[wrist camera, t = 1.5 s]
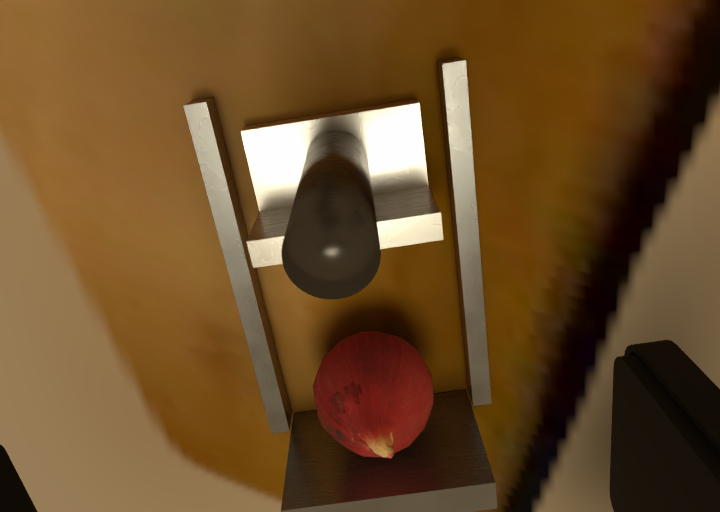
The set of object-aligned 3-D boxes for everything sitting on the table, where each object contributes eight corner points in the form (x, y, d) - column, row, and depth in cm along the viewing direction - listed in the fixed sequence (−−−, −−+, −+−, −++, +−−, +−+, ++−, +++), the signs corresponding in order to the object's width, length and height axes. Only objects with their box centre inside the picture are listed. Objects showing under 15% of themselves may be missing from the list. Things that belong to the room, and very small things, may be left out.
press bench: (192, 100, 26) (141, 131, 20) (459, 57, 26) (497, 73, 19) (280, 437, 34) (265, 538, 27) (487, 409, 33) (520, 505, 27)
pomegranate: (326, 399, 33) (321, 511, 26) (309, 311, 31) (297, 407, 23) (427, 386, 33) (451, 496, 25) (418, 296, 30) (440, 389, 23)
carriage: (244, 126, 27) (173, 210, 16) (416, 98, 26) (466, 164, 15) (268, 226, 29) (218, 363, 18) (427, 202, 28) (479, 326, 17)
